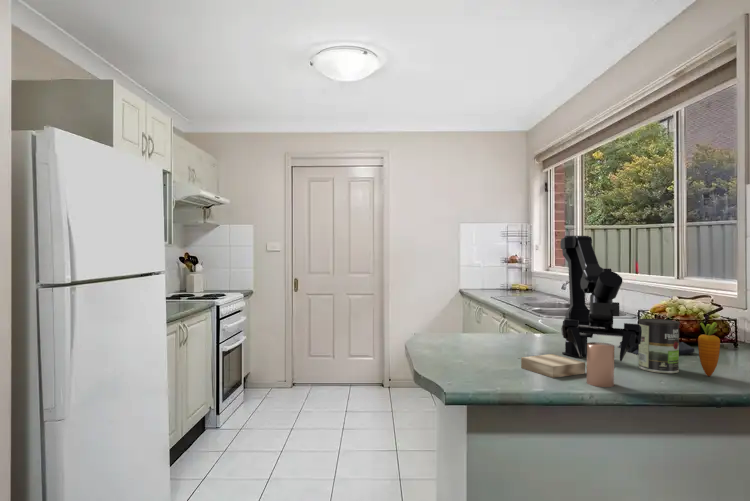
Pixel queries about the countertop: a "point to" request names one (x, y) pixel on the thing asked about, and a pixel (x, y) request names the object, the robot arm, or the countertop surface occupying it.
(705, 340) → the carrot
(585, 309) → the robot arm
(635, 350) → the dark slate chunk
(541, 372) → the oak slab
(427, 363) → the countertop surface
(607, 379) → the terracotta canister
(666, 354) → the coffee can
